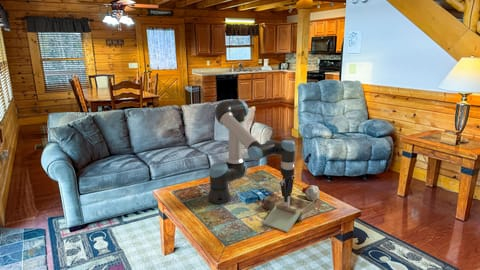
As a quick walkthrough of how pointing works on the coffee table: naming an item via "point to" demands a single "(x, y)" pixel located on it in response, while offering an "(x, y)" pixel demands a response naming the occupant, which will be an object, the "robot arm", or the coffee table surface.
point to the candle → (311, 192)
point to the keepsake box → (299, 206)
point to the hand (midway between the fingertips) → (286, 206)
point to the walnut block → (269, 202)
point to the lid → (282, 217)
